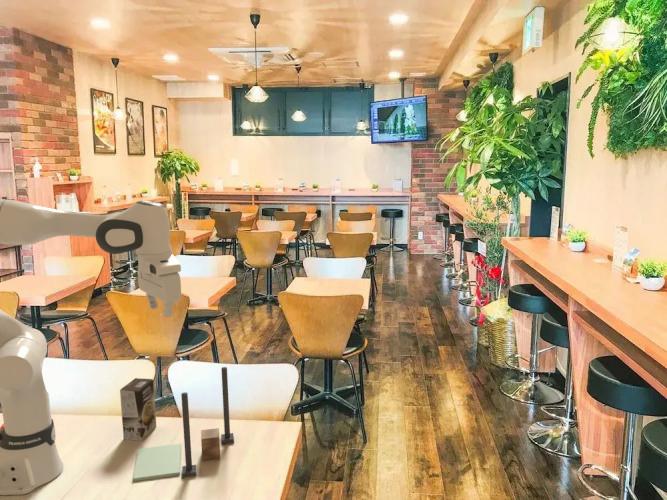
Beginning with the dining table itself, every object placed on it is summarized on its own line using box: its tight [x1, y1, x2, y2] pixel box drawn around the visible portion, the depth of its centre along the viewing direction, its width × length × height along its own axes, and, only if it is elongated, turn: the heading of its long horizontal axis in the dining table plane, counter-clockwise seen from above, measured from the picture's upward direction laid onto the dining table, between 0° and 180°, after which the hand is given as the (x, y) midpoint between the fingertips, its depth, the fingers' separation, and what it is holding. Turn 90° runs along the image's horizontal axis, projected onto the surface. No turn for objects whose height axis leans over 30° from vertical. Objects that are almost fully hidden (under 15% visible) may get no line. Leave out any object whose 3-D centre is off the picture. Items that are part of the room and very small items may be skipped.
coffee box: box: [119, 377, 157, 442], centre depth 172 cm, size 9×6×16 cm
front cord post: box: [180, 392, 197, 479], centre depth 150 cm, size 4×4×23 cm
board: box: [132, 443, 182, 482], centre depth 157 cm, size 12×15×1 cm
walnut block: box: [200, 427, 221, 463], centre depth 160 cm, size 5×5×7 cm
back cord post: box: [220, 366, 235, 445], centre depth 166 cm, size 4×4×23 cm
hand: (160, 312), depth 151 cm, fingers open, 8 cm apart
